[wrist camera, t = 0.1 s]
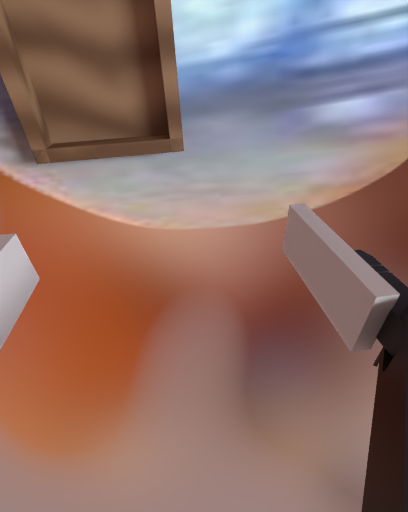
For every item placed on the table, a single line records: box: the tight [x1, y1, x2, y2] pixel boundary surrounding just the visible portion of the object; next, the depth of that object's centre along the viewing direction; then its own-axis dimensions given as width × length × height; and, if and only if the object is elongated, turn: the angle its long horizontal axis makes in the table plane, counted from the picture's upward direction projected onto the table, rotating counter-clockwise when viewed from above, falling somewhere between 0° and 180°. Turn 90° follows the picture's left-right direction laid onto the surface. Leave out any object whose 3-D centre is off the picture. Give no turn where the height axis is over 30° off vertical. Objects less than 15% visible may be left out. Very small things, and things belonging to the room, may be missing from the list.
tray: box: [0, 0, 184, 164], centre depth 29 cm, size 22×18×4 cm
